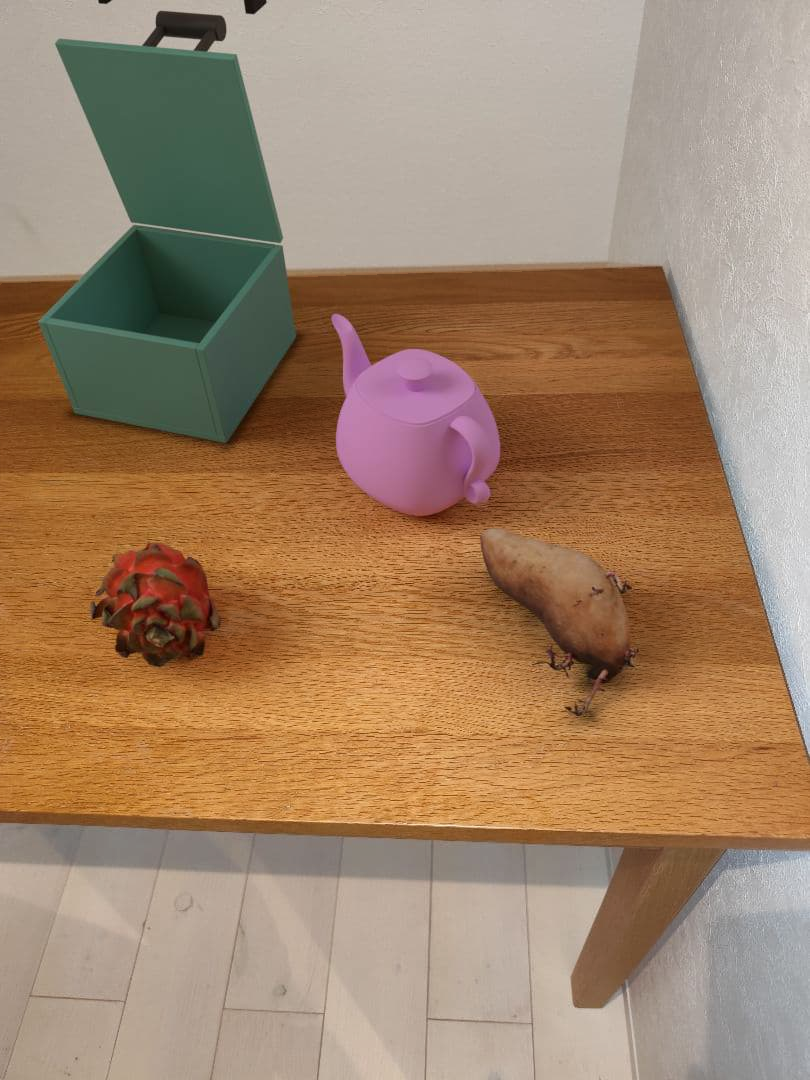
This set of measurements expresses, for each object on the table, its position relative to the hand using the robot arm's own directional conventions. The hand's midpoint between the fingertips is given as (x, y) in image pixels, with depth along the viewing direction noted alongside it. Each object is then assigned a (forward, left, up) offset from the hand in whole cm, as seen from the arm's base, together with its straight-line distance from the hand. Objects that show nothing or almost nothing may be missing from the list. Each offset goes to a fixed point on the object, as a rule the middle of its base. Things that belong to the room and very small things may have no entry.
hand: (182, 4), depth 75 cm
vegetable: (+40, -33, -31) cm, 60 cm away
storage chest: (-1, -11, -31) cm, 33 cm away
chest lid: (-1, -4, -11) cm, 12 cm away
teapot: (+25, -18, -31) cm, 44 cm away
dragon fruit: (+12, -41, -31) cm, 53 cm away
